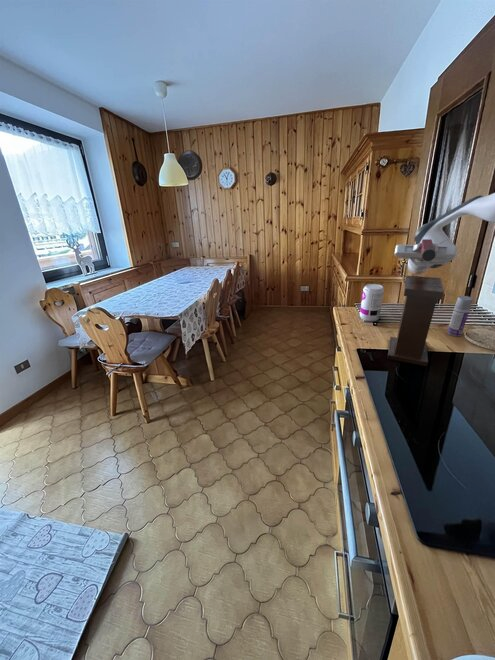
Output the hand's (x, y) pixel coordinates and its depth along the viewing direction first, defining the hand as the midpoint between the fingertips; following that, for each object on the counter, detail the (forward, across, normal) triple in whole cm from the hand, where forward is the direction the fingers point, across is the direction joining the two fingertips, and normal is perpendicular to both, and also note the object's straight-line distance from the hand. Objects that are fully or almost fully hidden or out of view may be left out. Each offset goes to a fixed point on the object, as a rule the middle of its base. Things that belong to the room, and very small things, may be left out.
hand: (427, 245), depth 102 cm
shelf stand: (+1, 0, +40) cm, 40 cm away
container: (-18, +16, +29) cm, 37 cm away
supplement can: (-20, -16, +27) cm, 38 cm away
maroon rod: (+4, 0, +4) cm, 5 cm away
